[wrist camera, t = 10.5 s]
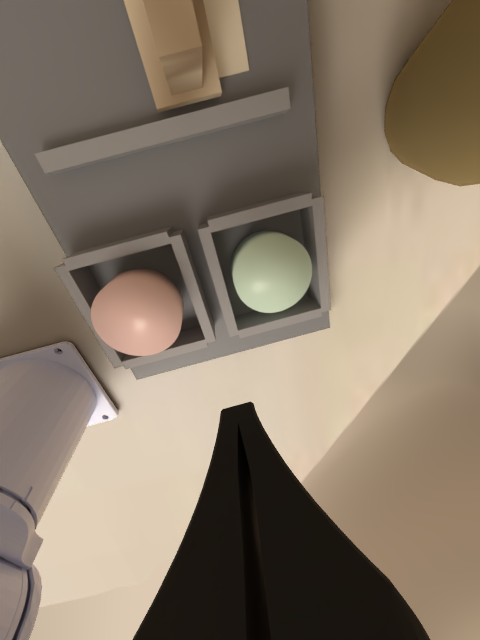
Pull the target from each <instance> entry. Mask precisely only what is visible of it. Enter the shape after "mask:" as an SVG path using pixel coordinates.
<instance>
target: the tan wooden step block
mask: <svg viewBox="0 0 480 640" xmlns="http://www.w3.org/2000/svg"><path fill="white" fill-rule="evenodd" d="M124 3H125V6H126V10H127V13H128V16H129V20H130V23H131V26H132V29H133V33H134V36H135V39H136V42H137V46H138V49H139V52H140V55H141V59H142V62H143V65H144V68H145V72H146V75H147V78H148V81H149V85H150V88H151V91H152V95H153V98H154V101H155V104H156V108H157V110H158V112H159V113H160V112H163V111H167V110H171V109H175V108H179V107H182V106H186V105H190V104H194V103H198V102H201V101H205V100H209V99H213V98H216V97H220V96H221V94H222V90H221V85H220V80H219V75H218V70H217V65H216V61H215V56H214V51H213V46H212V41H211V36H210V31H209V26H208V21H207V16H206V11H205V7H204V2H203V0H124Z"/></svg>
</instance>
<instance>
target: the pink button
mask: <svg viewBox="0 0 480 640" xmlns="http://www.w3.org/2000/svg"><path fill="white" fill-rule="evenodd" d="M183 312H184V301H183V297H182V294H181V292H180V290H179V288H178V287H177V286H176V284H175V283H174V282H173V281H172V280H171V279H170V278H168V277H167V276H166V275H164V274H162V273H160V272H158V271H155V270H152V269H147V268H133V269H129V270H126V271H123V272H121V273H119V274H118V275H117V276H115V277H114V278H113V279H112V280H111V281H110V282H109V283H108V284H107V285H106V286H105V287H104V288H103V289H102V290H101V291H100V292H99V293H98V294H97V295H96V297H95V299H94V301H93V303H92V307H91V320H92V324H93V327H94V329H95V331H96V332H97V334H98V335H99V337H100V338H101V339H102V340H103V341H104V342H105V343H106V344H107V345H109V346H110V347H112V348H114V349H115V350H117V351H119V352H122V353H125V354H128V355H134V356H149V355H154V354H157V353H160V352H162V351H164V350H166V349H167V348H168V347H170V346H171V345H172V344H173V343H174V342H175V340H176V339H177V337H178V335H179V333H180V330H181V324H182V318H183Z"/></svg>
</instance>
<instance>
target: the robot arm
mask: <svg viewBox="0 0 480 640" xmlns="http://www.w3.org/2000/svg"><path fill="white" fill-rule="evenodd" d="M57 348H58V349H61V350H62V351H59V350H57ZM118 413H119V412H118V410H117V409H116V407H115V406H114V404H113V403H112V401H111V400H110V398H109V397H108V395H107V394H106V392H105V391H104V389H103V388H102V386H101V385H100V383H99V382H98V380H97V379H96V377H95V376H94V374H93V373H92V371H91V370H90V368H89V367H88V365H87V364H86V362H85V361H84V359H83V358H82V356H81V355H80V353H79V352H78V350H77V349H76V347H75V346H74V345H73V344H72V343H71V342H68V341H63V342H60V343H56V344H52V345H48V346H45V347H41V348H37V349H34V350H30V351H26V352H22V353H19V354H15V355H11V356H7V357H4V358H0V640H29V638H30V635H31V633H32V630H33V627H34V624H35V620H36V617H37V614H38V609H39V605H40V600H41V590H42V585H41V577H40V574H39V571H38V570H37V568H36V567H35V566H34V565H32V564H33V562H34V559H35V557H36V555H37V553H38V551H39V549H40V546H41V544H42V542H43V539H42V538H41V537H39V536H38V535H37V534H36V532H35V529H36V527H37V525H38V523H39V521H40V519H41V517H42V515H43V513H44V511H45V509H46V507H47V505H48V503H49V501H50V499H51V497H52V495H53V493H54V491H55V489H56V487H57V485H58V483H59V481H60V479H61V477H62V475H63V473H64V471H65V469H66V467H67V465H68V463H69V461H70V459H71V457H72V455H73V453H74V451H75V449H76V447H77V445H78V443H79V441H80V439H81V437H82V435H83V433H84V431H85V429H86V427H87V426H91V425H94V424H98V423H102V422H105V421H109V420H113V419H115V418H117V416H118ZM106 415H107V416H106ZM133 640H430V638H429V636H428V635H427V633H426V631H425V629H424V628H423V626H422V624H421V623H420V621H419V620H418V618H417V617H416V615H415V614H414V612H413V611H412V609H411V608H410V607H409V605H408V604H407V602H406V601H405V600H404V598H403V597H402V596H401V594H400V593H399V592H398V591H397V589H396V588H395V587H394V585H393V584H392V582H391V581H390V580H389V579H388V578H387V577H386V576H385V575H384V574H383V573H382V572H381V571H380V570H379V569H378V568H377V567H376V566H375V565H374V564H373V563H372V562H371V561H370V560H369V559H368V558H367V557H366V556H365V555H364V554H363V553H362V552H361V551H360V550H359V549H358V548H357V547H356V546H355V545H354V544H353V542H352V541H351V540H350V539H349V538H348V537H347V536H346V535H345V534H344V533H343V532H342V531H341V530H340V529H339V528H338V526H337V525H336V524H335V523H334V522H333V521H332V520H331V519H330V518H329V516H328V515H327V514H326V513H325V512H324V511H323V510H322V509H321V507H320V506H319V505H318V504H317V503H316V502H315V501H314V499H313V498H312V497H311V495H310V494H309V493H308V492H307V491H306V489H305V488H304V487H303V486H302V484H301V483H300V482H299V480H298V479H297V478H296V477H295V475H294V474H293V473H292V471H291V470H290V468H289V467H288V466H287V464H286V463H285V461H284V460H283V458H282V457H281V456H280V454H279V453H278V451H277V450H276V448H275V446H274V445H273V443H272V442H271V440H270V438H269V437H268V435H267V433H266V432H265V430H264V428H263V426H262V424H261V422H260V420H259V418H258V416H257V413H256V411H255V408H254V404H253V403H252V402H248V403H244V404H240V405H237V406H233V407H229V408H226V409H223V410H222V411H221V415H220V422H219V428H218V433H217V438H216V443H215V447H214V451H213V455H212V459H211V462H210V466H209V469H208V472H207V476H206V479H205V482H204V485H203V488H202V491H201V494H200V497H199V500H198V503H197V505H196V508H195V511H194V513H193V516H192V518H191V521H190V523H189V526H188V528H187V530H186V533H185V535H184V538H183V540H182V542H181V545H180V547H179V549H178V551H177V554H176V556H175V558H174V560H173V562H172V564H171V566H170V568H169V570H168V572H167V575H166V577H165V579H164V581H163V583H162V585H161V587H160V589H159V591H158V593H157V595H156V597H155V599H154V601H153V603H152V605H151V607H150V608H149V610H148V612H147V614H146V616H145V618H144V620H143V621H142V623H141V625H140V627H139V629H138V631H137V632H136V634H135V636H134V638H133Z"/></svg>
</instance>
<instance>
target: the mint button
mask: <svg viewBox="0 0 480 640" xmlns="http://www.w3.org/2000/svg"><path fill="white" fill-rule="evenodd" d="M230 268H231V276H232V279H233V282H234V285H235V288H236V291H237V294H238V296H239V297H240V299H241V300H242V301H243V302H244V303H245V304H246V305H247V306H248V307H250V308H252V309H254V310H256V311H259V312H264V313H275V312H280V311H283V310H285V309H287V308H289V307H291V306H293V305H294V304H295V303H297V302H298V301H299V300H300V299H301V298H302V297H303V295H304V294H305V292H306V291H307V289H308V287H309V284H310V282H311V278H312V263H311V259H310V256H309V254H308V252H307V251H306V249H305V248H304V247H303V246H302V245H301V244H300V243H299V242H298V241H296V240H294V239H293V238H291V237H289V236H287V235H285V234H283V233H281V232H278V231H275V230H262V231H258V232H255V233H253V234H251V235H249V236H247V237H246V238H245V239H244V240H242V241H241V242H240V244H239V245H238V246H237V248H236V249H235V251H234V253H233V256H232V260H231V267H230Z"/></svg>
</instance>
